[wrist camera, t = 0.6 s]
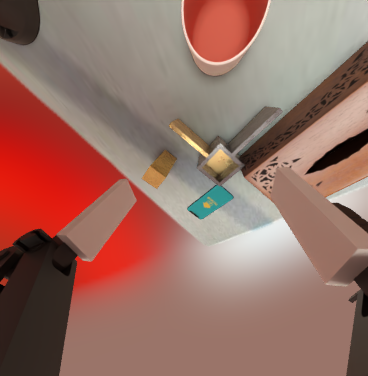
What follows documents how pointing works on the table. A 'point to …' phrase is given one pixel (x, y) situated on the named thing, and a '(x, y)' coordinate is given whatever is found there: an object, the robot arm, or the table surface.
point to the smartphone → (210, 202)
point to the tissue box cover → (319, 135)
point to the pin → (159, 169)
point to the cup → (221, 31)
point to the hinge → (225, 146)
